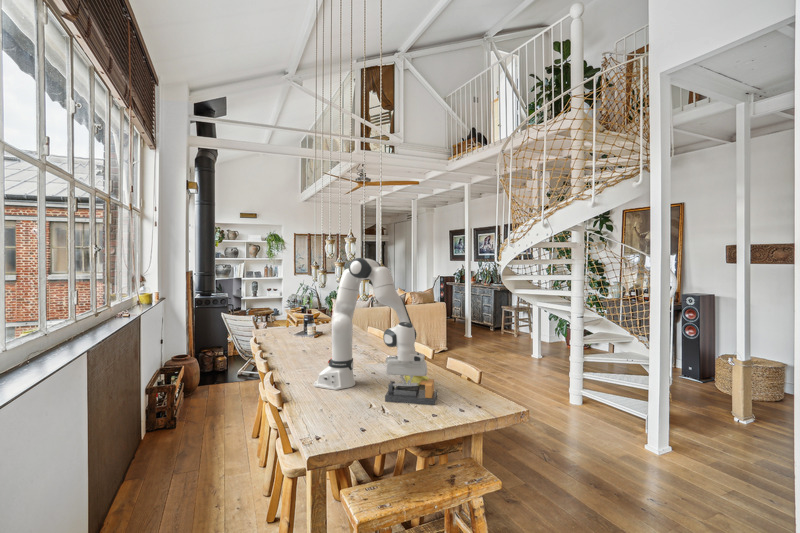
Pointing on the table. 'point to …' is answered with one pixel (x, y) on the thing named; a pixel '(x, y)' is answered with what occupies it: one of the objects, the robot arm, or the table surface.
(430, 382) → the clip
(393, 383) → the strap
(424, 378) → the plastic component
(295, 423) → the table surface
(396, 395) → the heatsink
